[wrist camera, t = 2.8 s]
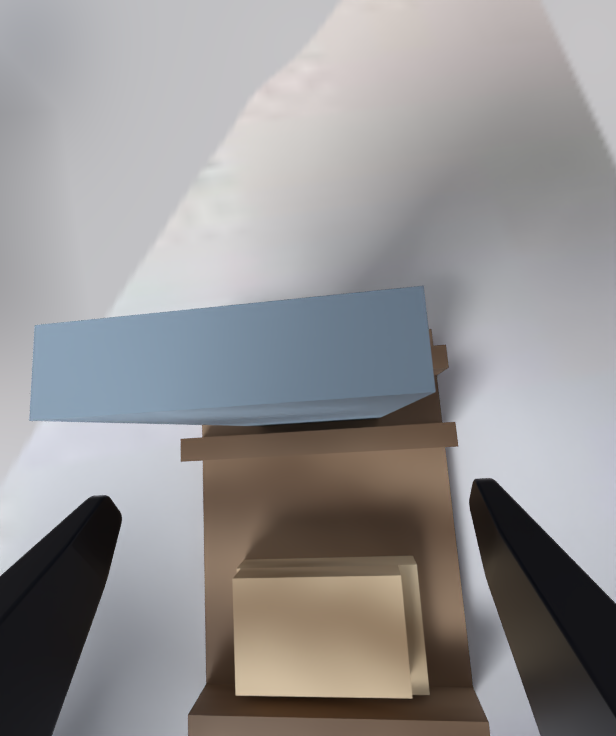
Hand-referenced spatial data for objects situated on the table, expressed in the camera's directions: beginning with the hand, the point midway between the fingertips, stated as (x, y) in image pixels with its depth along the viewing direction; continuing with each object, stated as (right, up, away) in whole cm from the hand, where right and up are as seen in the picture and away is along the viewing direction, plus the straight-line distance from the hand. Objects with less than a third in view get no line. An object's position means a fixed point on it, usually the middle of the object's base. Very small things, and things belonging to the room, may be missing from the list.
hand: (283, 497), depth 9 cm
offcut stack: (+2, -8, +8) cm, 12 cm away
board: (+1, +1, +10) cm, 10 cm away
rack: (+1, -4, +10) cm, 11 cm away
